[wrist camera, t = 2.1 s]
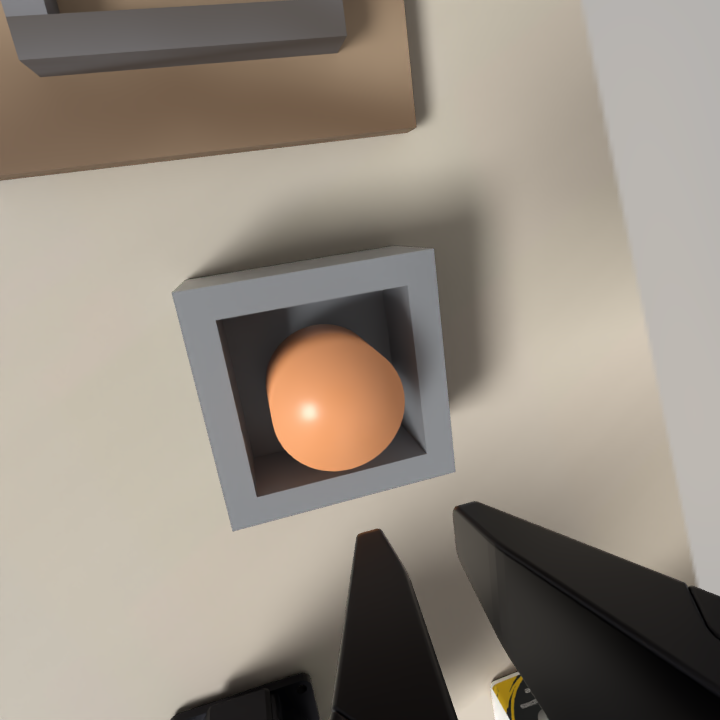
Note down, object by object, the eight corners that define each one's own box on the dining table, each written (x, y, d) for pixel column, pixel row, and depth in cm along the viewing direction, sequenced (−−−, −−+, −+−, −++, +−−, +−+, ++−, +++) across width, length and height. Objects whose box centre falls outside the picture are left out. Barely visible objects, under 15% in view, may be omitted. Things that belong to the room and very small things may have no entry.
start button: (384, 419, 18) (411, 453, 15) (277, 444, 17) (285, 485, 14) (369, 314, 17) (396, 330, 14) (254, 336, 16) (258, 358, 13)
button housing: (416, 429, 21) (455, 471, 18) (233, 474, 20) (232, 531, 16) (394, 245, 19) (434, 248, 15) (185, 279, 17) (171, 292, 14)
